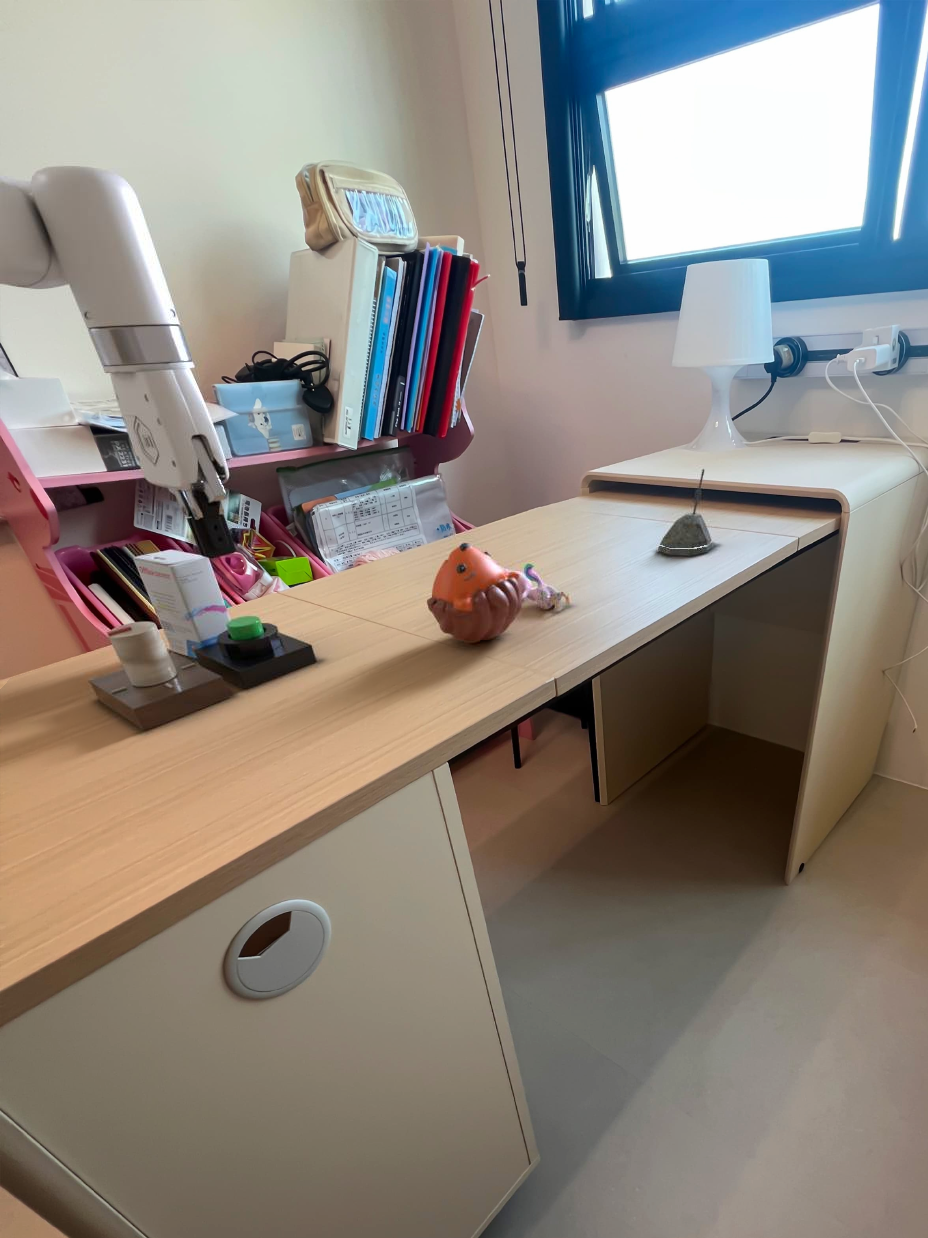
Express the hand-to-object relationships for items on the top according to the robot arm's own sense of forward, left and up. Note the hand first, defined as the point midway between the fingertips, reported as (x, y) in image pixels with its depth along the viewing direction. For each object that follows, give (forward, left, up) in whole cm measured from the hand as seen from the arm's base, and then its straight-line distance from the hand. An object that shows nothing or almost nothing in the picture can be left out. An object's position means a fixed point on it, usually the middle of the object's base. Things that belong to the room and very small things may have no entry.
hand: (219, 554), depth 71 cm
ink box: (-10, -2, -13) cm, 17 cm away
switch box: (0, 0, -13) cm, 13 cm away
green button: (0, 0, -9) cm, 9 cm away
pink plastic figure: (+12, +34, -13) cm, 38 cm away
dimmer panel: (0, -11, -13) cm, 17 cm away
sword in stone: (+18, +69, -13) cm, 72 cm away
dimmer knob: (0, -11, -10) cm, 15 cm away
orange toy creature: (+17, +21, -13) cm, 30 cm away
